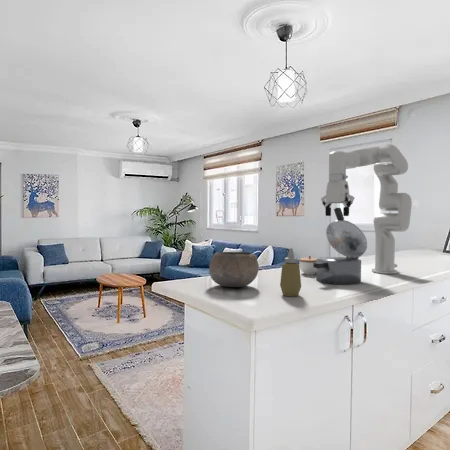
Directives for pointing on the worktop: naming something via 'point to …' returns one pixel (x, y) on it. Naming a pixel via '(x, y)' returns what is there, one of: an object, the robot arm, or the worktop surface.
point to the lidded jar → (308, 265)
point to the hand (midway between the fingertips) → (336, 215)
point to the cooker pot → (338, 270)
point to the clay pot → (233, 268)
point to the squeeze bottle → (290, 276)
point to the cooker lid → (346, 237)
